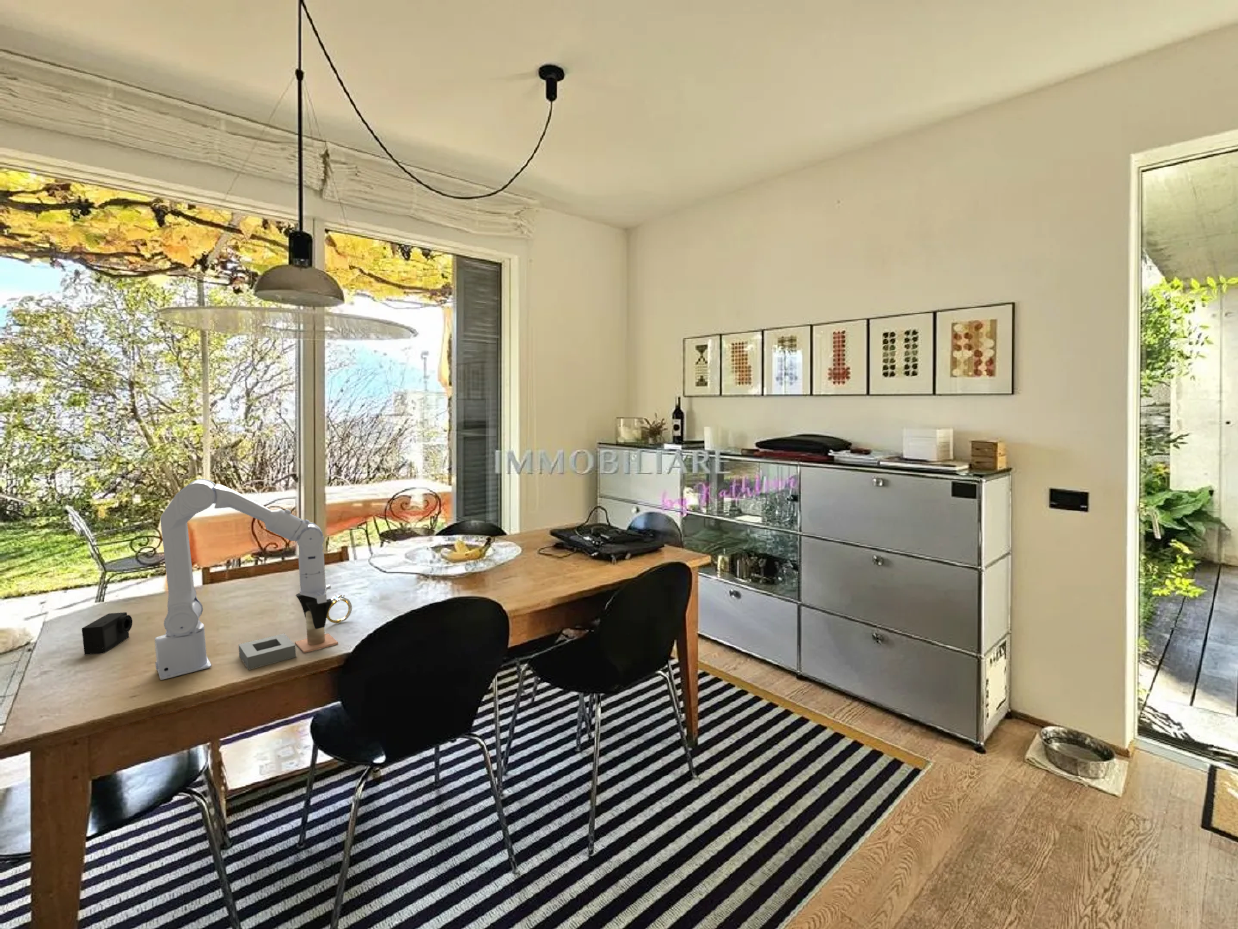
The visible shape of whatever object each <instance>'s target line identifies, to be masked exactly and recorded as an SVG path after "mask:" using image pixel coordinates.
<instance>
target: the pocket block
mask: <svg viewBox="0 0 1238 929" xmlns="http://www.w3.org/2000/svg"><path fill="white" fill-rule="evenodd" d="M296 648H297V647H296V644H295V642H293V641H292V640H291V639H290V637H289V636H288V635H287V634H286V633H284V632H283V633H280V634H276V635H271V636H267V637H264V638H260V639H255V640H251V641H248V642H247V641H246V642H243V643H239V644H238V654H239V658H240V659H241V662H243V664H244V665H245V668H247V670H248V671H249V670H253V669H256V668H261V667H264V666H267V665H272V664H275V663H276V664H277V663H279V662H282V661H285V660H286V661H287V660H289V659H293V658H297V652H296Z"/></svg>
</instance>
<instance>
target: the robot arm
mask: <svg viewBox="0 0 1238 929" xmlns="http://www.w3.org/2000/svg"><path fill="white" fill-rule="evenodd" d="M213 504H214V507H213V508H214V509H225V508H226V509H228V508H231V509H233V510H235V511H238V512H239V513H242V514H245V515H247V516H250V517H252V518H253V519H256V520H258V521H261V522H262V523H264V526H265V529H266V530H267V531H269V532H271V533H273V534H276V535H278V536H280V537H282V538H284V539H286V540H288V541H291V542H297V545H298V549H299V550H298V551H299V552H298V556H297V557H298V569H299V570H298V572H299V573H298V574H299V586H300V587H299V593H297V594H296V595H295V597H296V598H297V600H298V601H299V603H300V606H301V608H302V612H303V615H304V617H305V619H306V612H307V611H310V612H311V615H312V619H313V624H314V627H315V629H319V628H323V627H324V628H325V626H326V622H327V613H328V610H329V608H330V606H331V604H332V602H333V601H332V600H331V599H332V598H327V590H331V588H332V586H331V585H330V584H326V572H325V571H326V569H325V566H326V565H325V553H324V551H323V550H324V546H323V544H324V541H325V537H324V534H323V531H322V529H321V527H320V526H319V525H317V524H316V523H315V522H311V521H310V520H309V519H307V518H306V519H303V518H301V517H298V516H296V515H294V514H293V513H292V510H290V509H288V508H286V509H282V508H278V509H270V508H268V507H265V506H264V505H262V504H260V503H259V502H257V501H255V500H253V499H252V498H251V499H250V498H249V497H247V496H246V495H244V494H242V493H240V492H238V491H237V490H234V489H232V488H230V487H227V486H225V485H223V484H219V483H215V482H213V481H212V480H210V479H208V478H207V479H206V478H199V479H195V480H192V481H191V482H190V483H188V484H187V485H185V486H184V487H183V488H182V489H180V490H179V491H178V492H177V493H175V494H174V496H173V498H172V500H171V501H170V502H169V504H168V505H167V506H166V508H165V509H164V510H163V513H161V515H160V519H159V521H160V529H161V537H162V545H163V546H162V547H163V556H164V564H165V572H166V574H165V575H166V583H167V592H168V596H167V597H168V598H167V606H166V607H167V614H166V616H165V618H164V620H163V627H164V629H165V633H164V634H162V635H159V636H156V637H154V647H155V648H154V651H155V658H156V661H155V664H154V665H155V670H157V674H158V676H159V679H160V680H161V681H162V680H167V679H170V678H175V677H178V676H183V675H186V674H190V673H193V672H198V671H202V670H206V669H209V668H212V664H211V663H212V662H211V661H210V660H209V658H208V654H207V648H206V647H207V644H206V632H205V624H204V623H203V622H202V621H201V620H200V617H201V616H202V614H203V610H204V608H203V604H202V603H201V601H200V600H199V599H198V596H197V591H196V588H195V585H194V584H195V583H194V582H195V581H194V573H193V565H192V555H191V545H190V537H189V536H190V535H189V528H188V522H189V521H190V520H191V519H192V518H194V517H195V516H196V514H198V513H201V512H202V511H204V510H207V509H208V508H210V507H211V506H213Z"/></svg>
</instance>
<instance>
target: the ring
mask: <svg viewBox="0 0 1238 929" xmlns="http://www.w3.org/2000/svg"><path fill="white" fill-rule="evenodd" d="M345 596H346V595H345V594H338V595H337V594H335V595H334V596H332V598H330V599H331V600H332V604H331V606H330V608H329V610H328V613H327V618H326V620H328V621H329V622H331V623H333V624H338V625H339V624H341V623H343V622H345V621H346V620H347V619H348V618H349V617H350V616H351V615H352V612H353V611H352V610H353V604H352V602H351V601H350V600H349V599H348V598H346V597H345ZM340 601H341V602H342V601H343V602H344V603H346V605H347V608H348V609H347V610H348V611H347V613H346V614H345V616H344V617H342V618H338V619H335V620H334V619H332V618H331V617H330V610H331V609H332V607H333V606H334V605H336V604H337V603H338V602H340Z"/></svg>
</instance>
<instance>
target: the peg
mask: <svg viewBox="0 0 1238 929" xmlns="http://www.w3.org/2000/svg"><path fill="white" fill-rule="evenodd" d="M305 623H306V624H305V626H306V639H307V643H308V645H318V644H321V643H323V642H325V634H326V633H325V631H326V630H325V627H323V628H319V629H315V627H314V624H313V619H312V615H311V612H310V611H307V612H306V618H305Z"/></svg>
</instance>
